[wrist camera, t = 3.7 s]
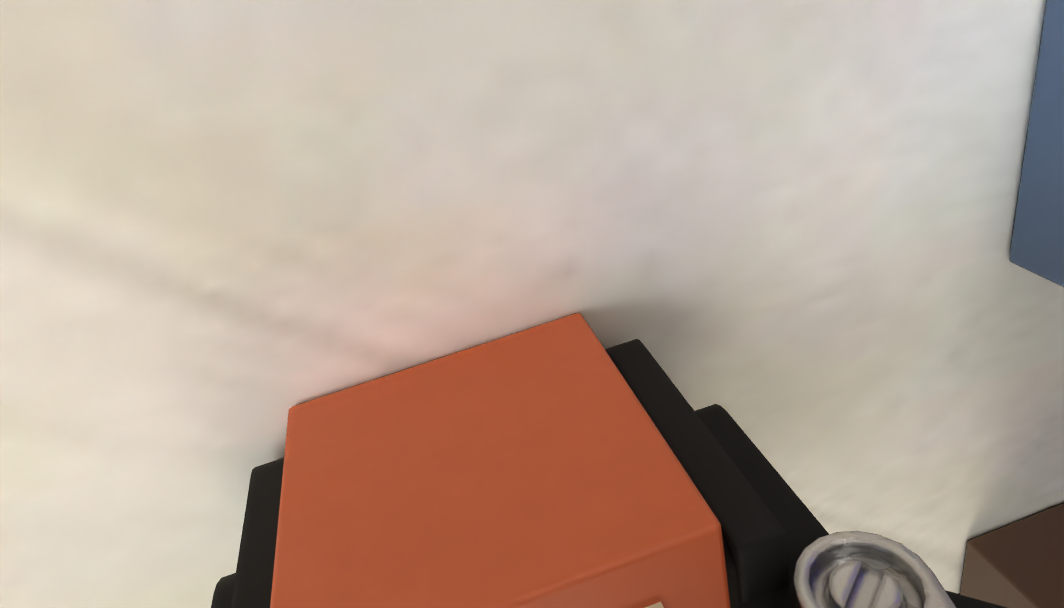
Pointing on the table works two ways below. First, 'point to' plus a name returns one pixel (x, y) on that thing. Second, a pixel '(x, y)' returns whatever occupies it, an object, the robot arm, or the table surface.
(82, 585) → the table surface
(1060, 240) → the slate block
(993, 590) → the walnut block
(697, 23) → the table surface
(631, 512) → the terracotta block
